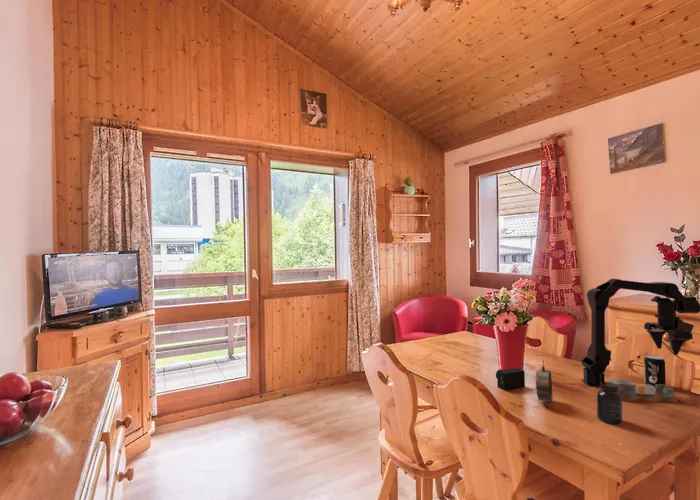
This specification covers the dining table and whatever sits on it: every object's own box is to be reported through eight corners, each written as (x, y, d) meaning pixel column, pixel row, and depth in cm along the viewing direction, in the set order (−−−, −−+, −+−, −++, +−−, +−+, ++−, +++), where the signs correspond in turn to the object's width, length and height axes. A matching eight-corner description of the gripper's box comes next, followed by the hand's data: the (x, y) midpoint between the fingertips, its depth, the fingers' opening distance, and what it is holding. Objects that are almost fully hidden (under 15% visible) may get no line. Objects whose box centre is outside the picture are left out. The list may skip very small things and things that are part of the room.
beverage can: (669, 389, 142) (668, 359, 142) (650, 388, 143) (650, 358, 143) (659, 383, 148) (658, 354, 148) (641, 382, 150) (640, 354, 150)
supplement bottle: (592, 416, 121) (591, 380, 121) (610, 415, 121) (609, 379, 121) (608, 426, 114) (607, 388, 114) (628, 424, 115) (627, 387, 115)
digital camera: (515, 383, 152) (514, 366, 152) (525, 387, 147) (524, 370, 147) (495, 386, 149) (494, 369, 149) (504, 391, 144) (504, 373, 144)
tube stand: (616, 399, 133) (615, 384, 133) (607, 393, 139) (606, 378, 139) (676, 402, 130) (676, 386, 130) (665, 395, 136) (664, 380, 136)
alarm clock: (551, 410, 126) (550, 364, 126) (534, 406, 129) (533, 362, 129) (553, 398, 135) (552, 356, 135) (537, 396, 138) (536, 354, 138)
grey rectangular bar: (616, 393, 134) (616, 385, 134) (611, 390, 138) (611, 382, 138) (655, 395, 132) (655, 386, 132) (649, 391, 135) (649, 383, 135)
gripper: (708, 317, 134) (709, 359, 134) (672, 309, 153) (672, 346, 152) (675, 317, 136) (675, 358, 136) (643, 309, 154) (643, 345, 154)
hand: (667, 351), depth 145 cm, fingers open, 9 cm apart
